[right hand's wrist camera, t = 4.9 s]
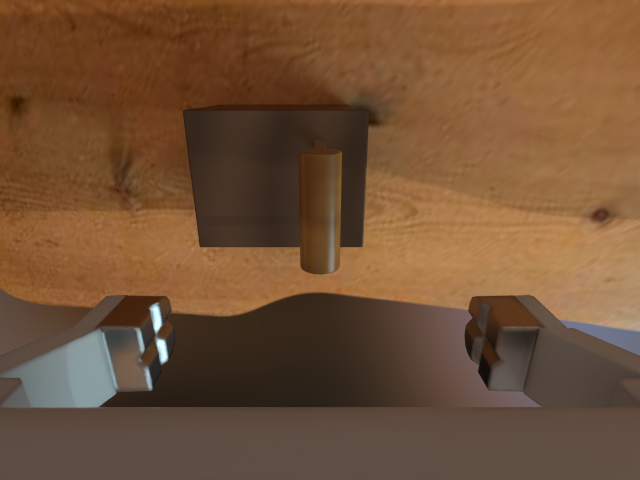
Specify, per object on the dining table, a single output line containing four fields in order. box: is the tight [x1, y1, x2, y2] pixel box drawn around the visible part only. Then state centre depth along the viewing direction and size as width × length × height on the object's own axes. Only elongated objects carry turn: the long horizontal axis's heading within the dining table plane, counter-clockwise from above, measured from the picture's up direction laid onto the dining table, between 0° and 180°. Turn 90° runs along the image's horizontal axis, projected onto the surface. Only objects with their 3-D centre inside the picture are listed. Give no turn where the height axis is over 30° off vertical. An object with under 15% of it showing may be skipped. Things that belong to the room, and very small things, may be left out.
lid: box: [183, 109, 369, 274], centre depth 23 cm, size 12×9×9 cm
